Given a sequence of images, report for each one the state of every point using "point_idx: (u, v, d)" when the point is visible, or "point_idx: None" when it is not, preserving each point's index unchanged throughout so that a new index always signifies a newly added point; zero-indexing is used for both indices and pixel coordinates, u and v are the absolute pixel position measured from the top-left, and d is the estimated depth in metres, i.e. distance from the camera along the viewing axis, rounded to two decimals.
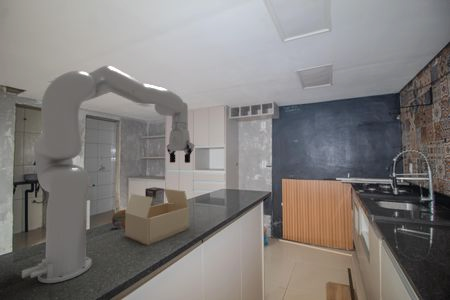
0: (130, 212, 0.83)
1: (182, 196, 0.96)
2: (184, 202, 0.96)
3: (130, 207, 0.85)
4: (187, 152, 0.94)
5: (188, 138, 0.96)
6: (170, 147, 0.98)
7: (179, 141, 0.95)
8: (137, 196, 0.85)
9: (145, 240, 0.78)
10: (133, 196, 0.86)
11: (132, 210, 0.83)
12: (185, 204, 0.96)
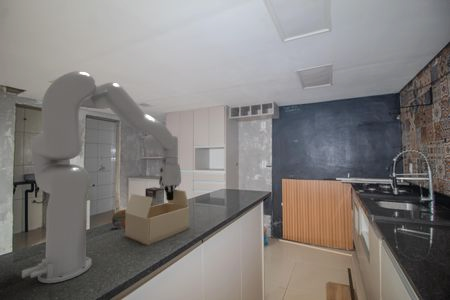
0: (130, 212, 0.83)
1: (182, 196, 0.96)
2: (184, 202, 0.96)
3: (130, 207, 0.85)
4: (174, 190, 0.97)
5: None
6: (167, 183, 0.92)
7: (177, 176, 0.97)
8: (137, 196, 0.85)
9: (145, 240, 0.78)
10: (133, 196, 0.86)
11: (132, 210, 0.83)
12: (185, 204, 0.96)
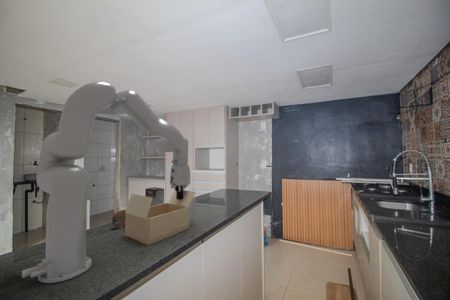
0: (130, 212, 0.83)
1: (189, 196, 1.00)
2: (187, 202, 0.98)
3: (130, 207, 0.85)
4: None
5: None
6: (178, 182, 0.97)
7: (187, 176, 1.02)
8: (137, 196, 0.85)
9: (145, 240, 0.78)
10: (133, 196, 0.86)
11: (132, 210, 0.83)
12: (186, 204, 0.97)
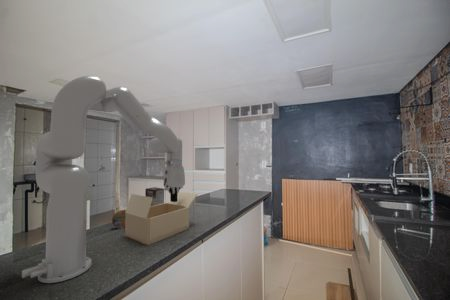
0: (130, 212, 0.83)
1: (191, 197, 1.00)
2: (187, 202, 0.98)
3: (130, 207, 0.85)
4: None
5: None
6: (172, 184, 0.94)
7: (181, 178, 0.99)
8: (137, 196, 0.85)
9: (145, 240, 0.78)
10: (133, 196, 0.86)
11: (132, 210, 0.83)
12: (187, 204, 0.97)
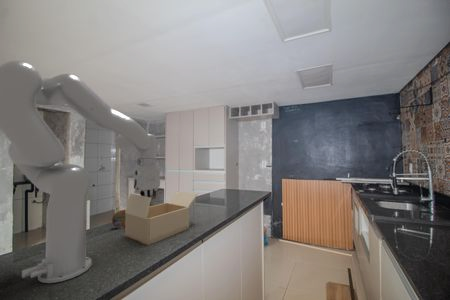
0: (130, 212, 0.83)
1: (191, 197, 1.00)
2: (187, 202, 0.98)
3: (130, 207, 0.84)
4: None
5: None
6: (143, 187, 0.82)
7: (155, 179, 0.86)
8: (136, 196, 0.84)
9: (145, 240, 0.78)
10: (132, 196, 0.86)
11: (132, 210, 0.83)
12: (187, 204, 0.97)
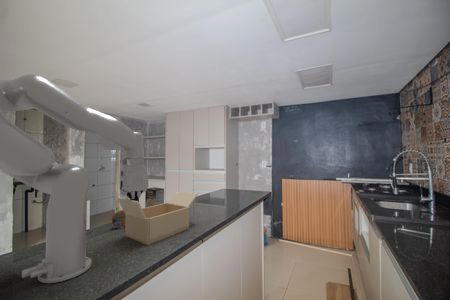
0: (129, 214, 0.83)
1: (191, 197, 1.00)
2: (187, 202, 0.98)
3: (126, 209, 0.83)
4: None
5: None
6: (129, 188, 0.77)
7: (143, 179, 0.82)
8: (124, 200, 0.80)
9: (145, 240, 0.78)
10: (120, 200, 0.82)
11: (129, 212, 0.82)
12: (187, 204, 0.97)
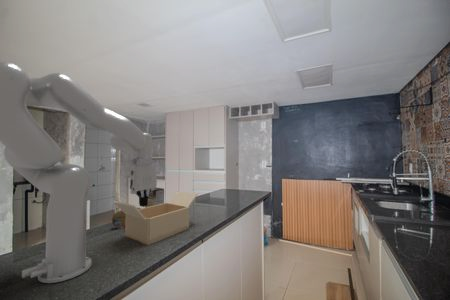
0: (129, 214, 0.83)
1: (191, 197, 1.00)
2: (187, 202, 0.98)
3: (125, 211, 0.83)
4: (148, 195, 0.85)
5: None
6: (139, 187, 0.80)
7: (151, 178, 0.85)
8: (120, 204, 0.79)
9: (145, 240, 0.78)
10: (117, 203, 0.81)
11: (129, 213, 0.82)
12: (187, 204, 0.97)
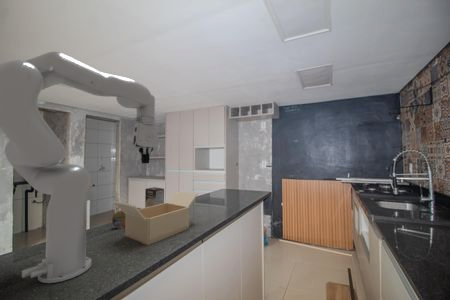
0: (129, 214, 0.83)
1: (191, 197, 1.00)
2: (187, 202, 0.98)
3: (125, 211, 0.83)
4: (150, 153, 0.90)
5: None
6: (141, 143, 0.85)
7: (154, 137, 0.90)
8: (120, 204, 0.79)
9: (145, 240, 0.78)
10: (117, 203, 0.81)
11: (129, 213, 0.82)
12: (187, 204, 0.97)
